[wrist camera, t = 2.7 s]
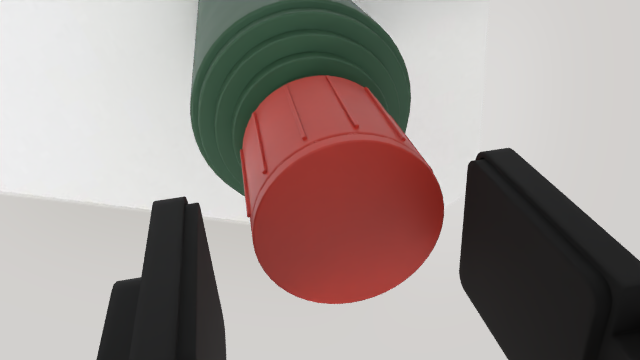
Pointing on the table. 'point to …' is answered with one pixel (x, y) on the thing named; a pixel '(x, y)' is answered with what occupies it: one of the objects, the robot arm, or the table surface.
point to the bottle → (281, 65)
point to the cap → (336, 192)
